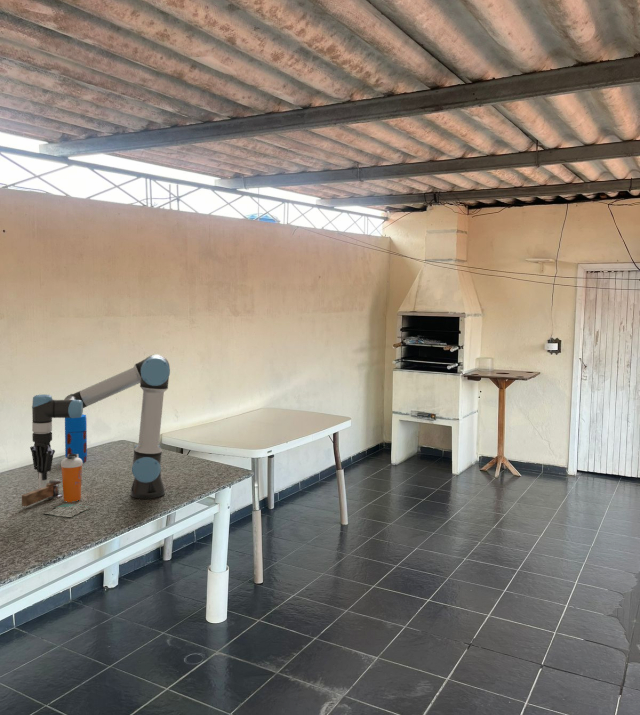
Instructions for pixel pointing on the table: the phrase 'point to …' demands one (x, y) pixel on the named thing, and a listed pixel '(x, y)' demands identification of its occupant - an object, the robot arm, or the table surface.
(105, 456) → the table surface
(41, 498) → the bar
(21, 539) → the table surface
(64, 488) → the shaker bottle
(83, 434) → the thermos
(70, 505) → the mat
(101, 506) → the table surface
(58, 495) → the grey curved piece
